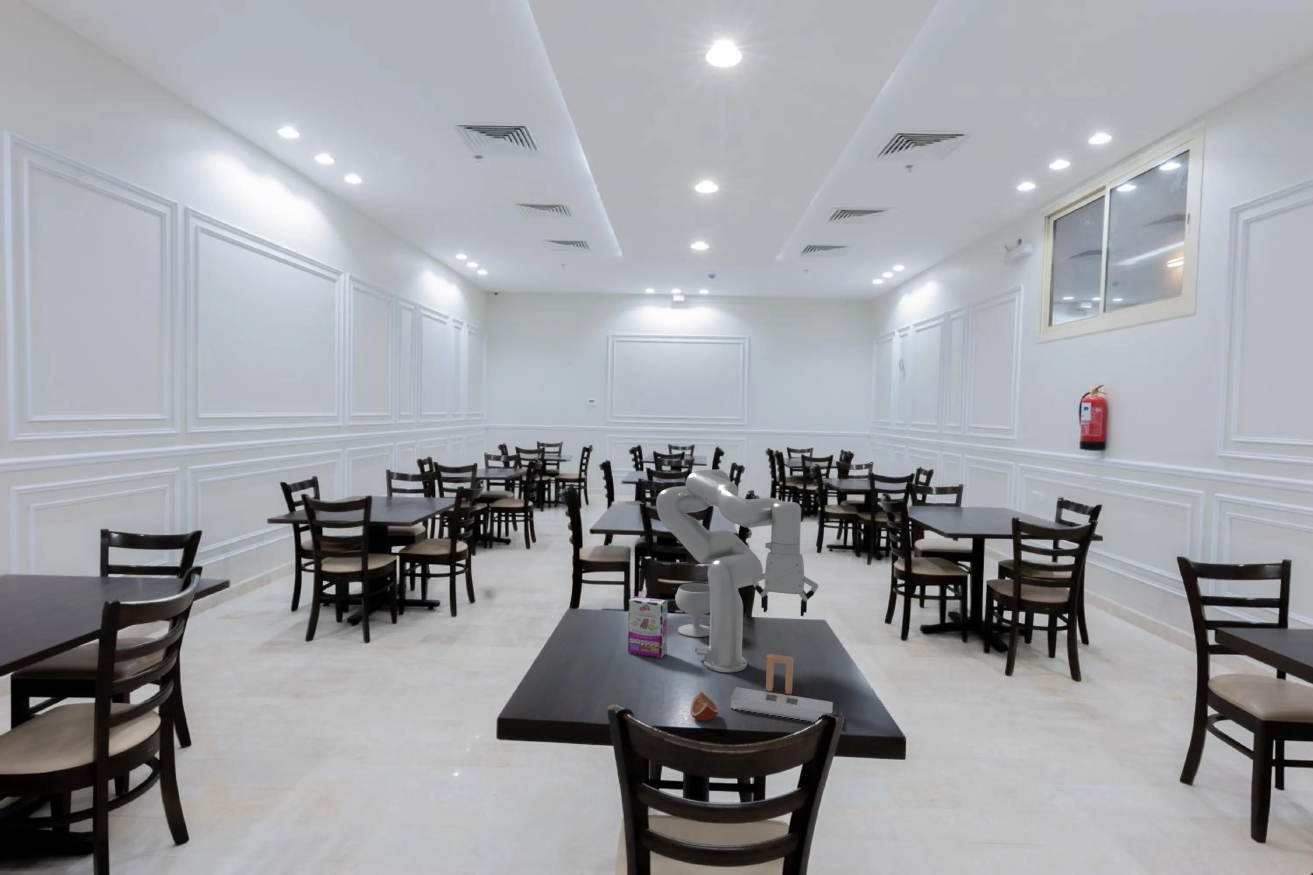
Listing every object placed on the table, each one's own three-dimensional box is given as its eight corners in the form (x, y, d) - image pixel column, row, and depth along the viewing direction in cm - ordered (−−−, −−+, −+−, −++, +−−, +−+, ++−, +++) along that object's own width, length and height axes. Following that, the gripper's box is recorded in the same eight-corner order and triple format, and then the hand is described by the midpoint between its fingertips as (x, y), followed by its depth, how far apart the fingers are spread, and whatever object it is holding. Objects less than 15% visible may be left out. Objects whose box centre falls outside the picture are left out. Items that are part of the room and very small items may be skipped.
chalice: (672, 625, 216) (673, 582, 215) (711, 624, 217) (713, 581, 217) (678, 639, 202) (679, 593, 201) (720, 638, 203) (721, 593, 203)
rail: (730, 708, 154) (731, 696, 154) (735, 698, 160) (735, 686, 160) (831, 725, 147) (831, 712, 147) (832, 714, 152) (832, 701, 152)
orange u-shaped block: (765, 690, 165) (766, 656, 165) (767, 686, 168) (768, 653, 167) (791, 694, 163) (792, 660, 163) (792, 690, 165) (793, 656, 165)
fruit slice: (688, 710, 153) (688, 690, 153) (715, 709, 153) (715, 689, 153) (693, 727, 145) (693, 706, 144) (721, 726, 145) (722, 705, 145)
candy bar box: (667, 653, 190) (668, 599, 189) (661, 659, 185) (662, 604, 184) (633, 647, 194) (635, 595, 193) (627, 653, 189) (628, 599, 189)
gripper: (750, 548, 164) (749, 613, 164) (818, 554, 159) (816, 620, 159) (754, 543, 171) (753, 605, 171) (819, 548, 166) (817, 612, 166)
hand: (783, 612), depth 165 cm, fingers open, 9 cm apart
